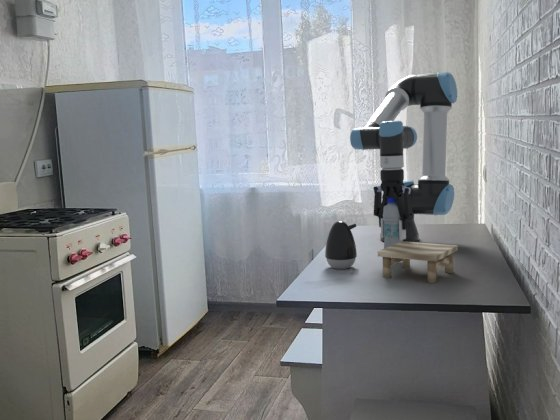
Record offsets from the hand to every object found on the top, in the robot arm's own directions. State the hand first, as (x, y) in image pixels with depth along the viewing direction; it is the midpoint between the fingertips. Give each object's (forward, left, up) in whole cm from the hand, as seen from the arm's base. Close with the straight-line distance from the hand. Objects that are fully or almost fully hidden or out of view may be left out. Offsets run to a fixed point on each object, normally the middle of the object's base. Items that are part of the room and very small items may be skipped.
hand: (393, 238), depth 202 cm
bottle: (0, 0, -6) cm, 6 cm away
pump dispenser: (+16, -9, -8) cm, 20 cm away
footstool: (+10, +16, -8) cm, 21 cm away
